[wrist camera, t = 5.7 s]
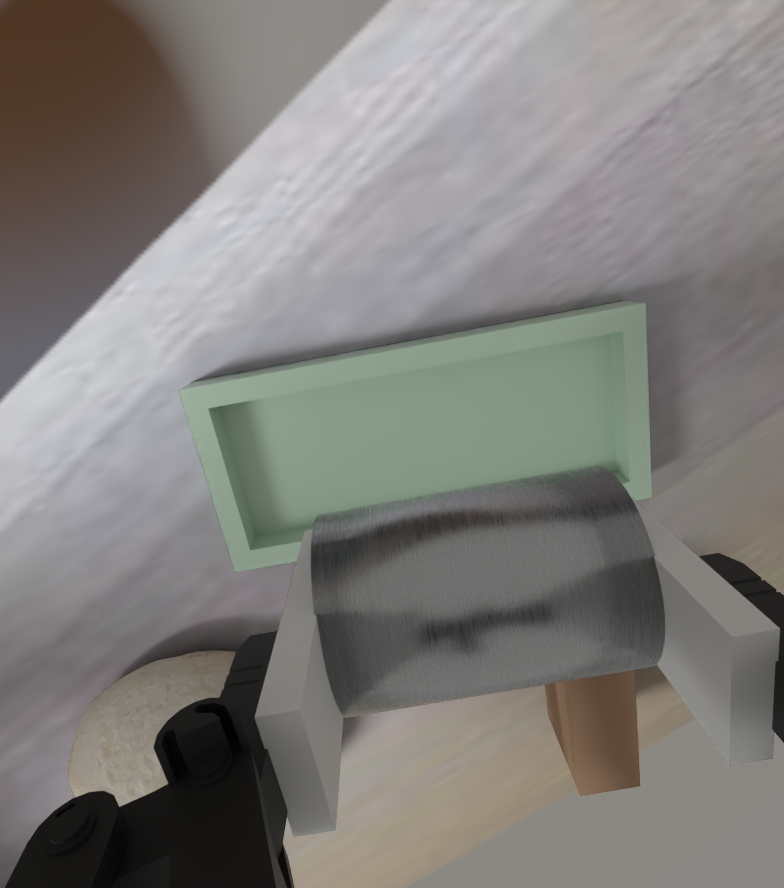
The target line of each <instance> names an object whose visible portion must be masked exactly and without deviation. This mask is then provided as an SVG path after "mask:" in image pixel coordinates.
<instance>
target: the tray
mask: <svg viewBox="0 0 784 888" xmlns="http://www.w3.org/2000/svg"><path fill="white" fill-rule="evenodd" d="M179 394H180V397H181V400H182V403H183V406H184V410H185V413H186V416H187V419H188V422H189V426H190V429H191V432H192V435H193V439H194V442H195V445H196V448H197V451H198V455H199V458H200V461H201V464H202V468H203V471H204V474H205V477H206V480H207V484H208V487H209V490H210V493H211V496H212V500H213V503H214V506H215V509H216V513H217V516H218V519H219V522H220V525H221V529H222V532H223V535H224V538H225V541H226V545H227V548H228V551H229V554H230V558H231V561H232V564H233V567H234V570H235V572H241V571H247V570H252V569H258V568H263V567H269V566H274V565H280V564H286V563H291V562H296V561H297V558H298V554H299V550H300V547H301V543H302V539H303V535H304V532H305V531H306V530H312V529H313V525H314V521H315V519H316V517H317V516H318V515H319V514H324V513H330V512H335V511H341V510H347V509H352V508H358V507H364V506H369V505H375V504H381V503H386V502H392V501H397V500H403V499H409V498H414V497H420V496H426V495H431V494H437V493H442V492H448V491H454V490H459V489H465V488H471V487H476V486H482V485H487V484H493V483H499V482H504V481H510V480H516V479H521V478H527V477H533V476H538V475H544V474H549V473H555V472H561V471H566V470H572V469H578V468H583V467H589V466H595V465H600V466H603V467H605V468H607V469H608V470H610V471H611V472H612V473H613V474H614V475H615V476H616V477H617V478H618V479H619V480H620V482H621V483H622V484H623V486H624V487H625V489H626V490H627V492H628V493H629V495H630V497H632V498H633V499H634V500H635V501H638V500H643V499H649V498H652V483H651V452H650V420H649V389H648V358H647V326H646V303H642V302H633V301H619V302H614V303H608V304H603V305H598V306H592V307H587V308H582V309H576V310H571V311H566V312H560V313H555V314H550V315H544V316H539V317H534V318H528V319H523V320H518V321H512V322H507V323H502V324H496V325H491V326H486V327H480V328H475V329H470V330H464V331H459V332H454V333H448V334H443V335H437V336H432V337H427V338H421V339H416V340H411V341H405V342H400V343H395V344H389V345H384V346H379V347H373V348H368V349H363V350H357V351H352V352H347V353H341V354H336V355H331V356H325V357H320V358H315V359H309V360H304V361H299V362H293V363H288V364H283V365H277V366H272V367H266V368H261V369H256V370H250V371H245V372H240V373H234V374H229V375H224V376H218V377H213V378H208V379H202V380H197V381H193V382H191V383H190V384H188V385H186V386H185V387H183V388H181V389H180V390H179Z"/></svg>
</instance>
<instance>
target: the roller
mask: <svg viewBox="0 0 784 888" xmlns="http://www.w3.org/2000/svg"><path fill="white" fill-rule="evenodd" d="M654 556H655V553H654V550H653V547H652V544H651V541H650V538H649V535H648V533H647V530H646V527H645V525H644V523H643V520H642V518H641V516H640V514H639V511H638V510H637V508H636V506H635V504H634V502H633V500H632V498H631V497H630V495H629V493H628V492H627V490H626V489H625V487H624V486H623V484H622V483H621V482H620V480H619V479H618V478H617V477H616V476H615V475H614V474H613V473H612V472H611V471H610V470H608V469H607V468H605V467H603V466H600V465H595V466H589V467H583V468H578V469H572V470H566V471H561V472H555V473H549V474H544V475H538V476H533V477H527V478H521V479H516V480H510V481H504V482H499V483H493V484H487V485H482V486H476V487H471V488H465V489H459V490H454V491H448V492H442V493H437V494H431V495H426V496H420V497H414V498H409V499H403V500H397V501H392V502H386V503H381V504H375V505H369V506H364V507H358V508H352V509H347V510H341V511H335V512H330V513H324V514H319V515H318V516H317V517H316V519H315V521H314V525H313V530H312V538H311V584H312V597H313V607H314V615H317V623H318V630H319V636H320V642H321V648H322V653H323V658H324V663H325V667H326V672H327V676H328V680H329V683H330V687H331V690H332V693H333V696H334V699H335V702H336V704H337V706H338V708H339V710H340V712H341V713H342V715H343V716H344V718H348V717H354V716H360V715H366V714H372V713H378V712H384V711H390V710H396V709H402V708H408V707H414V706H420V705H426V704H432V703H438V702H444V701H450V700H456V699H462V698H468V697H474V696H480V695H486V694H492V693H498V692H504V691H510V690H516V689H522V688H528V687H534V686H540V685H546V684H552V683H558V682H564V681H570V680H576V679H582V678H588V677H594V676H600V675H606V674H612V673H618V672H624V671H630V670H636V669H642V668H648V667H653V666H656V665H657V663H658V661H659V660H660V658H661V655H662V652H663V648H664V643H665V611H664V602H663V595H662V589H661V584H660V579H659V575H658V571H657V567H656V563H655V559H654Z"/></svg>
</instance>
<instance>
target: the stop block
mask: <svg viewBox="0 0 784 888" xmlns="http://www.w3.org/2000/svg"><path fill="white" fill-rule="evenodd" d="M545 688H546V697H547V706H548V714H549V719H550V721H551V724H552V726H553V729H554V731H555V734H556V736H557V739H558V741H559V744H560V746H561V749H562V751H563V754H564V756H565V759H566V761H567V764H568V766H569V769H570V771H571V774H572V776H573V779H574V781H575V784H576V787H577V789H578V791H579V794H580V796H583V795H590V794H596V793H601V792H608V791H613V790H619V789H625V788H631V787H637V786H640V773H639V752H638V731H637V710H636V690H635V670H630V671H624V672H618V673H612V674H606V675H600V676H594V677H588V678H582V679H576V680H570V681H564V682H558V683H552V684H546V685H545Z"/></svg>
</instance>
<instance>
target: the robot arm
mask: <svg viewBox="0 0 784 888" xmlns="http://www.w3.org/2000/svg"><path fill="white" fill-rule="evenodd" d="M631 498H632V497H631ZM632 500H633V502H634V504H635V506H636V508H637V510H638V511H639V514H640V516H641V518H642V520H643V523H644V525H645V527H646V530H647V533H648V535H649V538H650V541H651V544H652V547H653V550H654V553H655V556H654V559H655V563H656V567H657V571H658V575H659V579H660V584H661V589H662V595H663V602H664V611H665V643H664V648H663V652H662V655H661V658H660V660H659V661H658V663H657V665H658V667H659V668H660V670H661V671H662V672H663V674H664V675H665V677H666V678H667V679H668V681H669V682H670V684H671V685H672V686H673V688H674V689H675V691H676V692H677V693H678V695H679V696H680V698H681V699H682V700H683V702H684V703H685V705H686V706H687V707H688V709H689V710H690V712H691V713H692V714H693V716H694V717H695V719H696V720H697V721H698V723H699V724H700V725H701V727H702V728H703V730H704V731H705V732H706V734H707V735H708V737H709V738H710V739H711V741H712V742H713V743H714V745H715V746H716V748H717V749H718V751H719V752H720V753H721V755H722V756H723V757H724V759H725V760H726V762H727V763H728V764H729V766H731V765H737V764H743V763H749V762H755V761H761V760H767V759H773V748H774V732H775V733H776V734H777V735H778V736H779V738H780V739H781V740H782V741H783V742H784V595H782V594H781V593H780V592H778V593H777V592H776V589H775V588H774V587H772V586H771V585H770V584H768V583H767V582H766V581H765V580H763V581H762V580H761V577H760V576H758V575H757V574H756V573H755V572H753V571H752V570H751V569H750V568H748V567H747V566H746V565H745V564H743V563H741V562H739V561H736V560H734V559H732V558H729V557H727V556H725V555H722V554H720V553H715V554H710V555H704V556H697V555H696V554H695V553H694V552H693V551H692V550H690V549H689V548H688V547H687V546H686V545H685V544H684V543H683V542H681V541H680V540H679V539H678V538H677V537H676V536H675V535H673V534H672V533H671V532H670V531H669V530H668V529H667V528H666V527H664V526H663V525H662V524H661V523H660V522H659V521H658V520H656V519H655V518H654V517H653V516H652V515H651V514H650V513H649V512H647V511H646V510H645V509H644V508H643V507H642V506H641V505H639V504H638V503H637V502H636V501H635V500H634V499H633V498H632ZM312 530H313V529H312ZM312 530H306V531H305V532H304V535H303V539H302V543H301V547H300V550H299V554H298V558H297V561H296V565H295V569H294V573H293V576H292V580H291V584H290V587H289V591H288V595H287V599H286V602H285V606H284V610H283V613H282V617H281V621H280V625H279V628H278V631H275V632H269V633H264V634H258V635H252V636H250V637H249V638H248V639H247V640H246V641H245V642H244V644H243V645H242V646H241V647H240V648H239V649H238V651H237V652H236V653H235V656H234V659H233V662H232V664H231V667H230V670H229V674H228V675H227V678H226V681H225V684H224V689H222V692H221V695H220V697H219V698H212V697H210V698H206V699H203V700H199V701H196V702H194V703H192V704H190V705H188V706H186V707H184V708H183V709H181V710H179V711H178V712H177V713H176V714H175V715H173V716H172V717H171V718H170V719H169V720H168V721H166V723H165V724H164V726H163V727H162V728H161V730H160V731H159V733H158V734H157V736H156V740H155V743H154V747H153V748H154V750H155V753H156V755H157V758H158V760H159V763H160V765H161V767H162V770H163V772H164V775H165V777H166V779H167V782H168V784H167V785H165V786H163V787H161V788H159V789H158V790H156V791H154V792H151V793H149V794H147V795H145V796H142V797H140V798H138V799H136V800H134V801H131V802H129V803H127V804H125V805H122V806H120V807H119V805H118V803H117V801H116V798H115V796H114V795H113V794H110V793H108V792H106V791H94V792H88V793H85V794H83V795H80V796H78V797H76V798H73V799H71V800H70V801H68V802H67V803H65V804H64V805H62V806H61V807H59V808H58V809H56V810H55V811H54V812H53V813H52V814H51V815H50V816H49V817H48V818H47V819H46V820H45V821H44V822H43V823H42V824H41V825H40V826H39V827H38V828H37V830H36V831H35V833H34V834H33V836H32V837H31V839H30V840H29V842H28V843H27V845H26V847H25V849H24V851H23V853H22V855H21V857H20V859H19V861H18V863H17V865H16V867H15V869H14V871H13V873H12V875H11V877H10V879H9V881H8V883H7V885H6V887H5V888H294V884H293V879H292V874H291V870H290V865H289V860H288V857H287V854H286V851H285V848H284V845H283V837H284V831H285V825H286V818H288V821H289V824H290V827H291V830H292V833H293V836H294V837H296V836H302V835H308V834H315V833H321V832H327V831H333V830H336V818H337V804H338V790H339V775H340V761H341V746H342V732H343V718H344V716H343V715H342V713H341V712H340V710H339V708H338V706H337V704H336V702H335V699H334V696H333V693H332V690H331V687H330V683H329V680H328V676H327V672H326V667H325V663H324V658H323V653H322V648H321V642H320V636H319V630H318V623H317V615H314V607H313V597H312V584H311V538H312Z"/></svg>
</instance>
